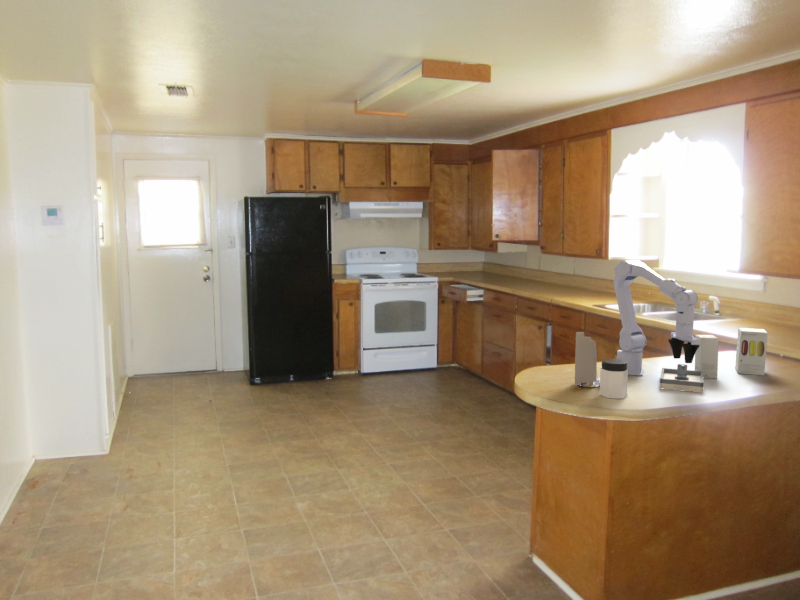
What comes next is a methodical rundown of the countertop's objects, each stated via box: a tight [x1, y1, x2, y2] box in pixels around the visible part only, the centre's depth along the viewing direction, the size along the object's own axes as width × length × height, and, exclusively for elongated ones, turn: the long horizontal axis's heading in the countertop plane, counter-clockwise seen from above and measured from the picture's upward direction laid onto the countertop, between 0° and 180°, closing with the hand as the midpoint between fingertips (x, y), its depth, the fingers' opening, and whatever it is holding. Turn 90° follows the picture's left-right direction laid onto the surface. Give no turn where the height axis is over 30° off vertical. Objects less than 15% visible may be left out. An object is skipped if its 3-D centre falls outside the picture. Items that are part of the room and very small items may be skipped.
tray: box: [659, 367, 705, 394], centre depth 230 cm, size 14×18×4 cm
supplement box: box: [734, 327, 769, 376], centre depth 247 cm, size 10×9×17 cm
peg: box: [676, 363, 688, 380], centre depth 231 cm, size 3×3×7 cm
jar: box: [599, 358, 629, 400], centre depth 216 cm, size 9×8×12 cm
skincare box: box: [694, 334, 720, 379], centre depth 241 cm, size 8×7×16 cm
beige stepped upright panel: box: [574, 331, 598, 386], centre depth 229 cm, size 7×14×20 cm, turn 91°
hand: (682, 360), depth 230 cm, fingers open, 7 cm apart
